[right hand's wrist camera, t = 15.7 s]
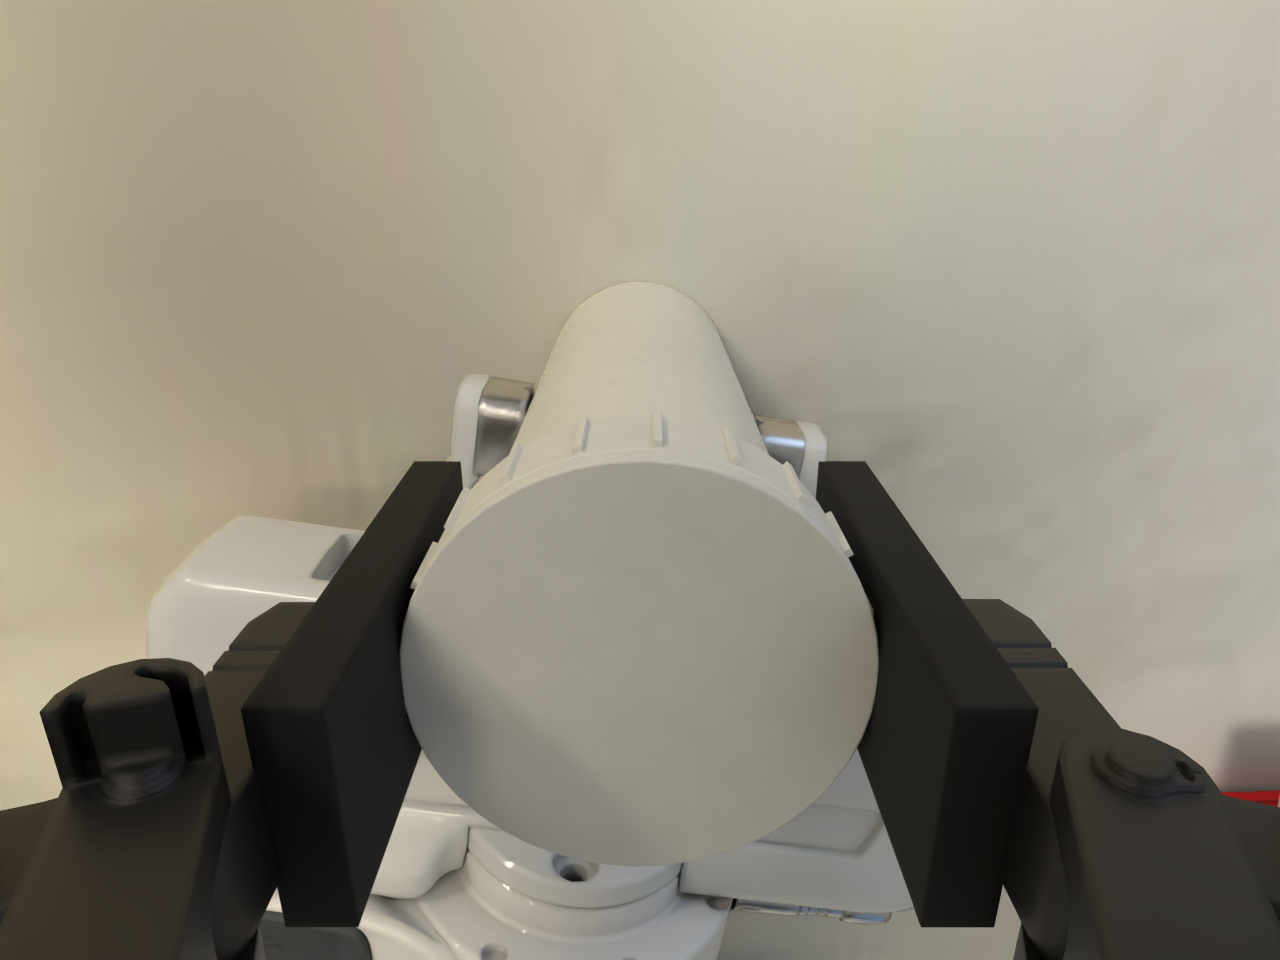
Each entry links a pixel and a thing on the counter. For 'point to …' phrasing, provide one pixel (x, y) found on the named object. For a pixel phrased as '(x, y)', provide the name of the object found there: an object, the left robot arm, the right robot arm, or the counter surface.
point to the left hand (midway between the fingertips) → (643, 404)
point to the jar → (639, 366)
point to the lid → (639, 644)
